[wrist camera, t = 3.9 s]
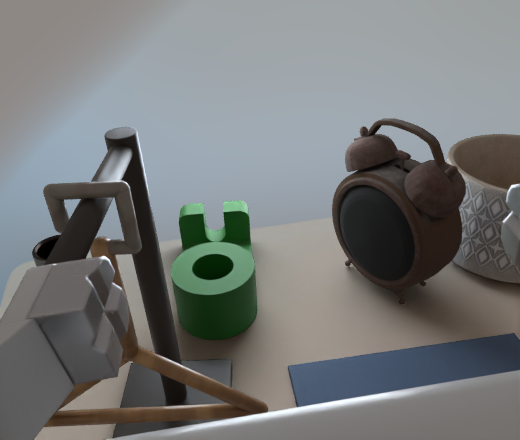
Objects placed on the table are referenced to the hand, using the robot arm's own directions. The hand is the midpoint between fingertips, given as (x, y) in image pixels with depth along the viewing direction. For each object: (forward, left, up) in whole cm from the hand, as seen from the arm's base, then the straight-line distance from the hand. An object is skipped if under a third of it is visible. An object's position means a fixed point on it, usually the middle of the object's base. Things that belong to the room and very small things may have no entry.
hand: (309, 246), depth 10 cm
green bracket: (+37, +2, -33) cm, 50 cm away
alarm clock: (+34, -18, -33) cm, 51 cm away
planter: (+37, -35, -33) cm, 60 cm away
